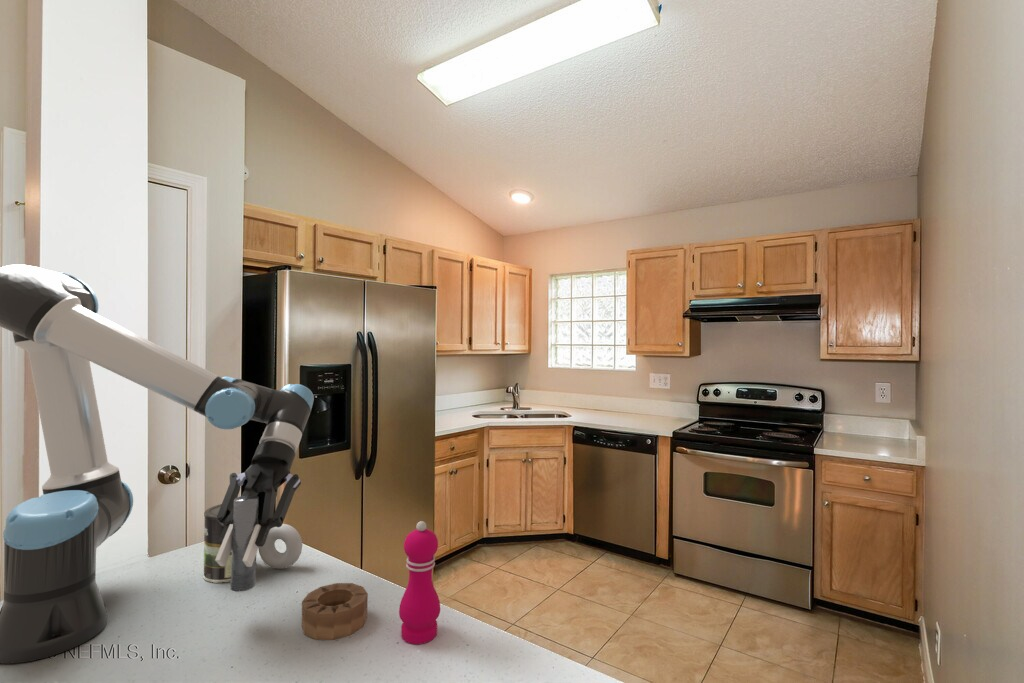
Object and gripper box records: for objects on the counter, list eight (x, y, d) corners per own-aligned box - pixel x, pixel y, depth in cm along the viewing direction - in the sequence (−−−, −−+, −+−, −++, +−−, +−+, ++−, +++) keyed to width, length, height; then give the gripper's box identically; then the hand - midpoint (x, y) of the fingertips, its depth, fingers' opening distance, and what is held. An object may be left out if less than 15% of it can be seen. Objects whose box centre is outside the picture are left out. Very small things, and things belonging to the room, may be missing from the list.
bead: (292, 639, 86) (293, 613, 86) (315, 606, 97) (315, 583, 97) (357, 639, 87) (357, 613, 87) (372, 606, 98) (372, 583, 98)
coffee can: (196, 586, 104) (198, 518, 104) (210, 564, 114) (211, 503, 114) (251, 580, 107) (252, 514, 107) (260, 559, 117) (261, 499, 117)
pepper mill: (399, 649, 84) (401, 530, 84) (397, 625, 91) (399, 516, 91) (442, 643, 86) (444, 527, 86) (437, 620, 93) (439, 513, 93)
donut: (304, 566, 114) (305, 522, 114) (297, 573, 111) (297, 528, 111) (263, 563, 115) (264, 520, 115) (254, 570, 112) (255, 525, 112)
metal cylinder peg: (226, 591, 89) (229, 501, 89) (237, 580, 93) (240, 495, 93) (248, 591, 89) (252, 502, 90) (259, 581, 93) (262, 495, 94)
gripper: (322, 460, 107) (288, 572, 91) (241, 458, 106) (192, 571, 90) (314, 440, 102) (277, 555, 85) (229, 437, 101) (174, 553, 85)
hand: (233, 563), depth 88 cm, fingers closed on metal cylinder peg, 4 cm apart
